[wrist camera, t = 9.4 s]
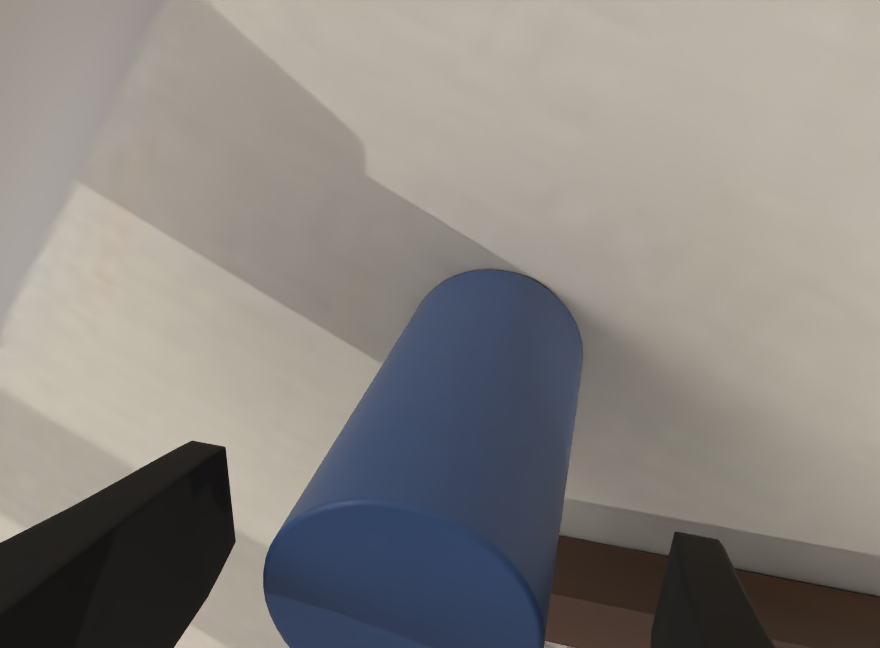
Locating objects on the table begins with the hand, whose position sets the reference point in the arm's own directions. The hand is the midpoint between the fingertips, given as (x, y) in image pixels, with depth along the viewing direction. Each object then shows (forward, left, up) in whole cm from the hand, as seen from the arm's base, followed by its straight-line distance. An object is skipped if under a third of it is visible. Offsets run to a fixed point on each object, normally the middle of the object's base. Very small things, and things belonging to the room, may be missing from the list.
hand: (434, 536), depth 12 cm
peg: (0, 0, -6) cm, 6 cm away
